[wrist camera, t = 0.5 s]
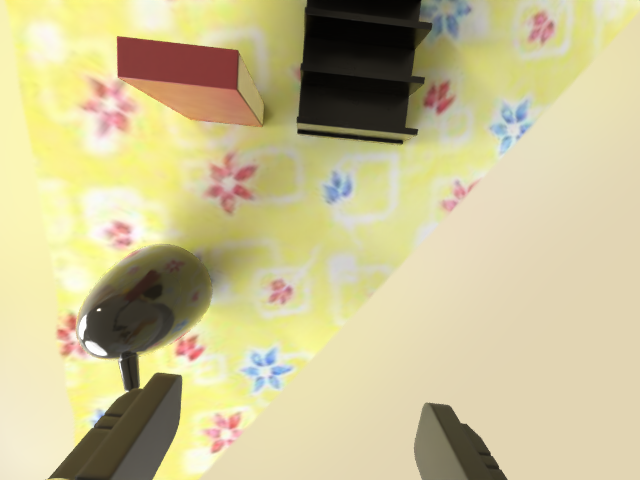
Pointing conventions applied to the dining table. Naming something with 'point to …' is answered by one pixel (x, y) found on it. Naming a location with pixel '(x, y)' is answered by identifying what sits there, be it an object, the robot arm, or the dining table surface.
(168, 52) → the book
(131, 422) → the robot arm
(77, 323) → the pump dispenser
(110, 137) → the dining table surface
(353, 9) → the book rack
